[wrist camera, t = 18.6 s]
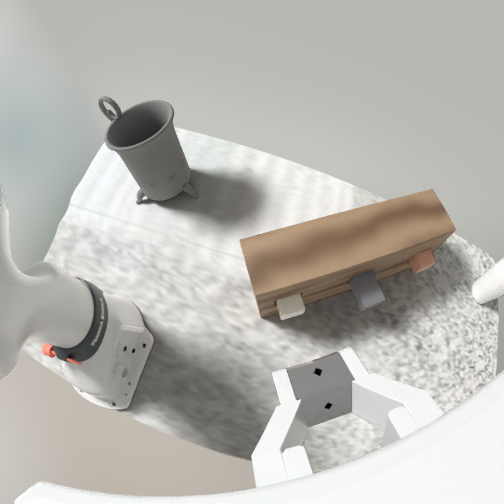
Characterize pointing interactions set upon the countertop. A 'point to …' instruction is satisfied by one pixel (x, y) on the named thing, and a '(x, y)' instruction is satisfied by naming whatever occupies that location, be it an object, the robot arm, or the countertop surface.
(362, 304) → the charcoal key
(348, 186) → the countertop surface
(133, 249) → the countertop surface
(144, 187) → the grey footed pot
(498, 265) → the drinking glass
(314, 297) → the console
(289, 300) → the cream key
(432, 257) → the terracotta key
